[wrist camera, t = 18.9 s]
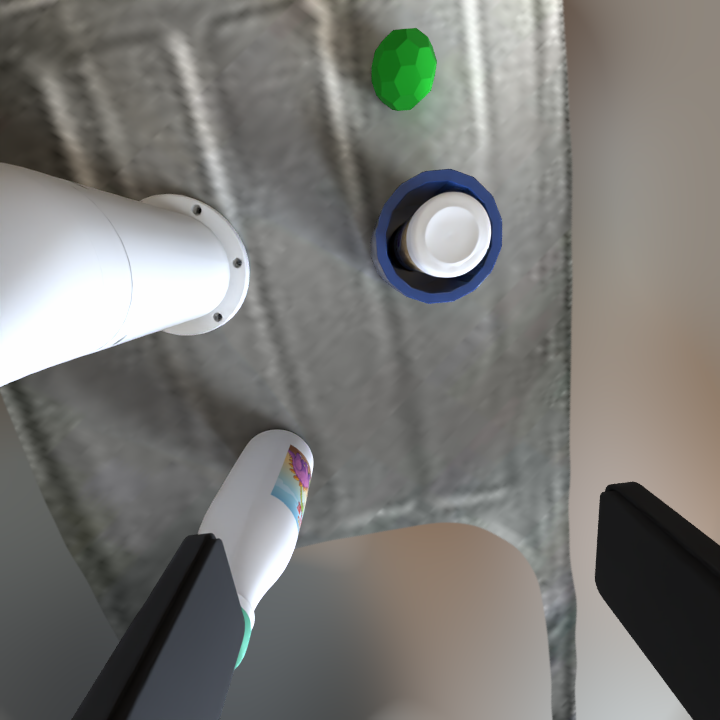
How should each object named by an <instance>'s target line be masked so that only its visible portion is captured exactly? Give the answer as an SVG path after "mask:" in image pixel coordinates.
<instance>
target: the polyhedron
mask: <svg viewBox="0 0 720 720" xmlns="http://www.w3.org/2000/svg"><path fill="white" fill-rule="evenodd" d="M436 64H437V60H436V57H435V54H434V50H433V47H432V45H431V43H430V41H429V39H428V37H427V36H426V35H425V34H423V33H422V32H421V31H419V30H418V29H417V28H412V29H400V30H393V31H392V32H391V33H390V34H389V35H388V36H387V37H386V38H385V39H384V40H383V41H382V42H381V44H380V45H379V46H378V48H377V49H376V51H375V54H374V58H373V63H372V84H373V87H374V90H375V92H376V95H377V96H378V98H379V99H380V100H381V101H382V102H383V103H384V104H386V105H387V106H388V107H390V108H391V109H392V110H397V111H401V110H411V109H412V108H413V107H414V106H415V105H416V104H417V103H418V102H419V101H421V100H422V99H423V98H424V97H425V96H426V95H427V94H428V93H429V92H430V91H431V88H432V84H433V80H434V76H435V70H436Z"/></svg>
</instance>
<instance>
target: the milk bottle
mask: <svg viewBox="0 0 720 720" xmlns="http://www.w3.org/2000/svg"><path fill="white" fill-rule="evenodd" d="M312 470H313V456H312V453H311V450H310V448H309V447H308V445H307V444H306V443H305V442H304V440H303V439H302V438H300V437H299V436H298V435H296V434H294V433H292V432H289V431H286V430H279V429H276V430H269V431H265V432H262V433H260V434H258V435H256V436H255V437H253V438H252V439H251V440H250V441H249V443H248V444H247V445H246V447H245V448H244V450H243V452H242V453H241V455H240V456H239V458H238V460H237V461H236V463H235V465H234V466H233V468H232V470H231V471H230V473H229V475H228V476H227V478H226V480H225V481H224V483H223V485H222V486H221V488H220V490H219V491H218V493H217V495H216V496H215V498H214V500H213V502H212V503H211V505H210V507H209V509H208V511H207V513H206V515H205V516H204V519H203V521H202V524H201V526H200V528H199V532H198V534H205V533H213V534H214V535H215V537H216V539H217V538H220V539H221V540H222V542H223V545H224V549H225V552H226V556H227V559H228V563H229V566H230V570H231V573H232V577H233V580H234V584H235V587H236V591H237V594H238V598H239V601H240V605H241V608H242V612H243V615H244V619H245V633H244V638H243V642H242V645H241V648H240V652H239V655H238V658H237V662H236V665H235V668H237V666H238V665H239V664H240V662H241V661H242V659H243V657H244V655H245V652H246V649H247V646H248V643H249V639H250V635H251V629H252V628H253V625H254V620H255V617H254V609H255V607H256V606H257V604H258V603H259V601H260V599H261V598H262V596H263V595H264V594H265V593H266V591H267V590H268V589H269V588H270V587H271V586H272V585H273V584H274V583H275V581H276V580H277V579H278V578H279V576H280V575H281V574H282V572H283V571H284V569H285V568H286V566H287V564H288V562H289V560H290V558H291V555H292V553H293V550H294V548H295V544H296V541H297V537H298V533H299V530H300V526H301V521H302V517H303V513H304V508H305V504H306V499H307V494H308V490H309V485H310V480H311V476H312Z"/></svg>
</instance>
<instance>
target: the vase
mask: <svg viewBox="0 0 720 720" xmlns="http://www.w3.org/2000/svg"><path fill="white" fill-rule="evenodd" d="M446 192H461V193H465V194H467V195H470V196H471V197H473V198H475V199H476V200H477V201H478V202H479V203H480V204H481V205H482V206H483V207H484V209H485V211H486V212H487V214H488V217H489V220H490V225H491V238H490V243H489V247H488V249H487V251H486V253H485V255H484V257H483V258H482V260H481V261H480V262H479V263H478V264H477V265H476V266H475V267H474V268H473V269H471V270H470V271H468V272H466V273H464V274H462V275H459V276H456V277H436V276H432V275H429V274H427V273H422V272H409V271H406V270H403V269H401V268H400V267H398V266H397V265H396V263H395V262H394V261H393V259H392V257H391V254H390V240H391V236H392V235H393V233H394V231H395V230H396V229H397V228H398V227H399V226H400V225H401V224H402V223H404V222H406V221H407V220H408V219H409V218H411V217H412V216H413V215H414V213H415V212H416V211H417V210H418V208H420V207H421V206H422V205H423V204H424V203H425V202H427V201H428V200H429V199H431V198H433V197H435V196H437V195H439V194H442V193H446ZM501 220H502V219H501V216H500V213H499V211H498V208H497V206H496V203H495V200H494V198H493V196H492V195H491V194H490V193H489V192H488V191H487V190H486V189H485V188H484V187H483V186H482V185H481V184H480V183H479V182H478V181H477V180H476V179H475V178H474V177H472V176H469V175H466V174H464V173H461V172H458V171H455V170H452V169H443V170H432V171H424V172H422V173H420V174H418V175H416V176H415V177H413V178H411V179H409V180H408V181H406V182H404V183H402V184H401V185H400V186H399V187H398V188H397V189H396V191H395V192H394V193H393V194H392V196H391V197H390V198H389V199H388V201H387V202H386V203H385V204H384V206H383V208H382V210H381V213H380V215H379V217H378V219H377V221H376V224H375V227H374V230H373V233H372V237H371V240H370V248H371V259H372V262H373V264H374V267H375V269H376V270H377V272H378V274H379V276H380V277H381V278H382V279H383V280H384V281H385V282H386V283H388V284H389V285H390V286H391V287H392V288H394V289H395V290H397V291H398V292H400V293H402V294H403V295H405V296H406V297H409V298H412V299H415V300H418V301H422V302H425V303H428V304H432V303H443V302H452V301H455V300H457V299H459V298H461V297H463V296H465V295H467V294H469V293H471V292H473V291H474V290H475V289H476V288H477V287H478V286H479V285H480V284H481V283H482V282H483V281H484V280H485V278H486V277H487V276H488V275H489V274H490V273H491V272H492V270H493V267H494V265H495V262H496V260H497V257H498V255H499V252H500V250H501V247H502V221H501Z"/></svg>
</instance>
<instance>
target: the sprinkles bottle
mask: <svg viewBox="0 0 720 720" xmlns="http://www.w3.org/2000/svg"><path fill="white" fill-rule="evenodd" d="M490 238H491V225H490V220H489V217H488V214H487V212H486V211H485V209H484V207H483V206H482V205H481V204H480V203H479V202H478V201H477V200H476V199H475V198H473V197H471V196H470V195H467V194H465V193H461V192H446V193H442V194H439V195H437V196H435V197H433V198H431V199H429V200H428V201H427V202H425V203H424V204H423V205H422V206H421V207H420V208H418V210H417V211H416V212H415V213H414V215H413V216H412V217H411V218H409V219H408V220H407V221H406V222H404V223H402V224H401V225H400V226H399V227H398V228H397V229H396V230H395V231H394V233H393V235H392V236H391V240H390V254H391V257H392V259H393V261H394V262H395V263H396V265H397V266H398V267H400V268H401V269H403V270H406V271H409V272H422V273H427V274H429V275H432V276H436V277H456V276H459V275H462V274H464V273H466V272H468V271H470V270H471V269H473V268H474V267H475V266H476V265H477V264H478V263H479V262H480V261H481V260H482V258H483V257H484V255H485V253H486V251H487V249H488V247H489V243H490Z"/></svg>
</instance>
